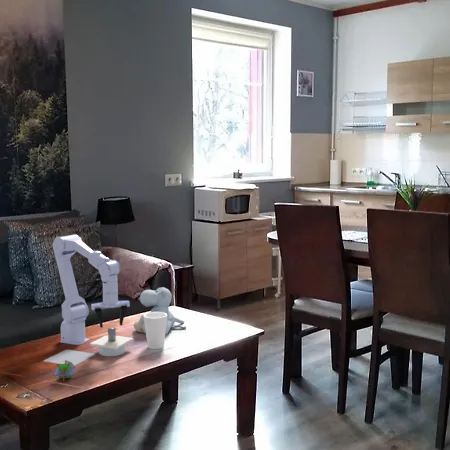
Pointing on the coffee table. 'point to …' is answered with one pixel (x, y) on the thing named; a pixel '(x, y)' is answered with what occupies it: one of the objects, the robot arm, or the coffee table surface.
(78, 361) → the mat
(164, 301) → the light blue rounded figure
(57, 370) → the geometric puzzle
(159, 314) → the foam cup
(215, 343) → the coffee table surface
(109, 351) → the bowl
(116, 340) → the lid
